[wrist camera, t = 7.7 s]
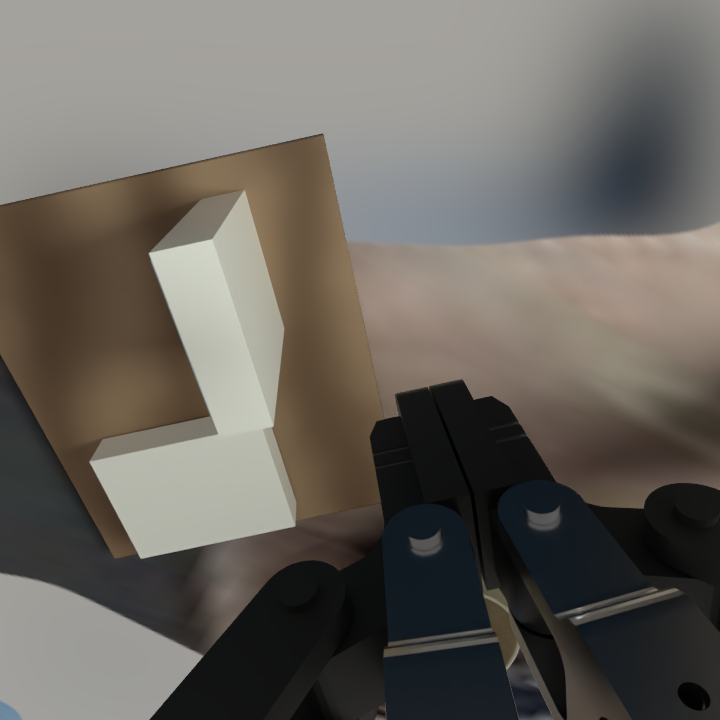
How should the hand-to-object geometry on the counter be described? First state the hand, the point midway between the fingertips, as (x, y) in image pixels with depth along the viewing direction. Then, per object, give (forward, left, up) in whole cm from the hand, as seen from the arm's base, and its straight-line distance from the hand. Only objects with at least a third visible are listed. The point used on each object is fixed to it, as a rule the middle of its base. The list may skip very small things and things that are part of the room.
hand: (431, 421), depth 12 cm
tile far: (+7, +11, -15) cm, 20 cm away
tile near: (+6, 0, -16) cm, 17 cm away
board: (+10, +6, -17) cm, 20 cm away
